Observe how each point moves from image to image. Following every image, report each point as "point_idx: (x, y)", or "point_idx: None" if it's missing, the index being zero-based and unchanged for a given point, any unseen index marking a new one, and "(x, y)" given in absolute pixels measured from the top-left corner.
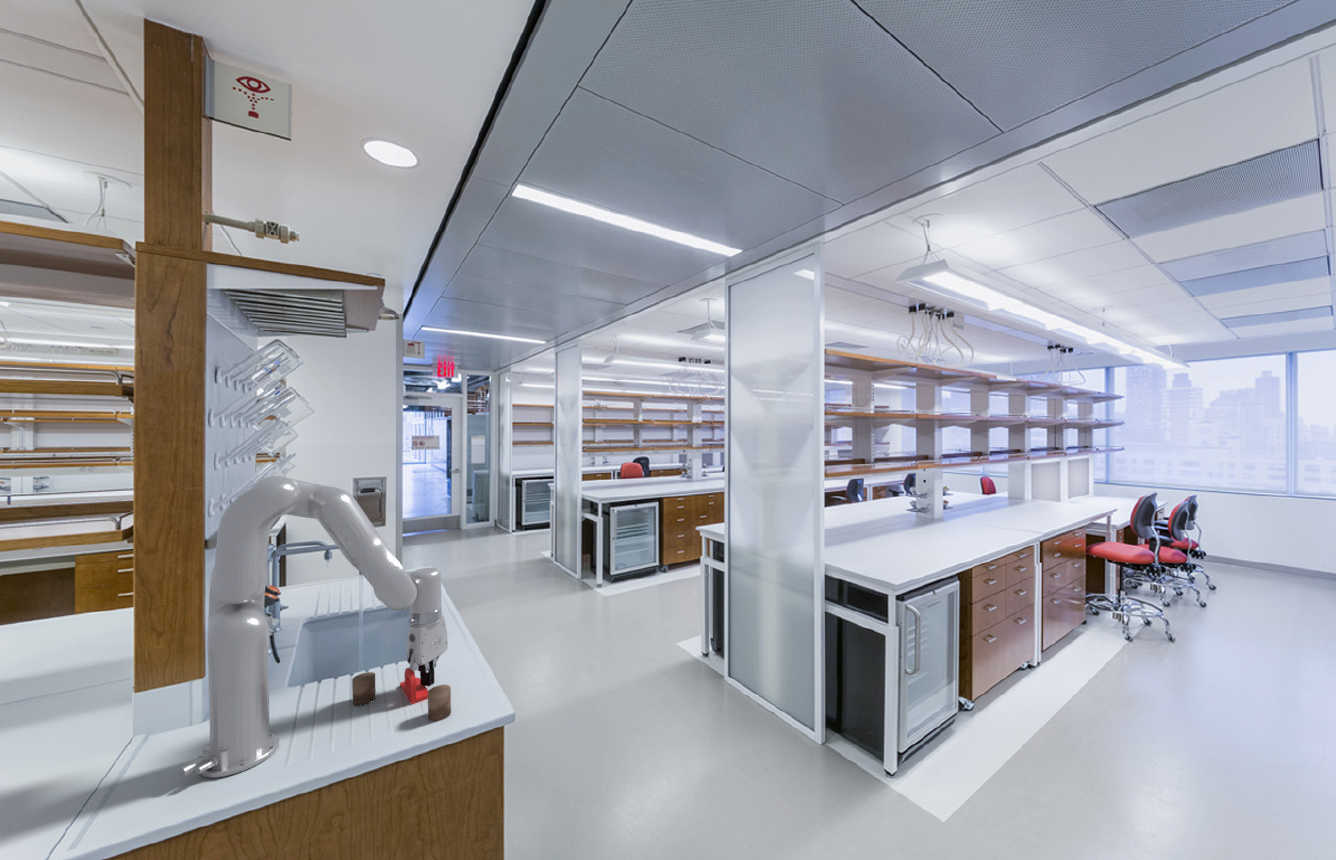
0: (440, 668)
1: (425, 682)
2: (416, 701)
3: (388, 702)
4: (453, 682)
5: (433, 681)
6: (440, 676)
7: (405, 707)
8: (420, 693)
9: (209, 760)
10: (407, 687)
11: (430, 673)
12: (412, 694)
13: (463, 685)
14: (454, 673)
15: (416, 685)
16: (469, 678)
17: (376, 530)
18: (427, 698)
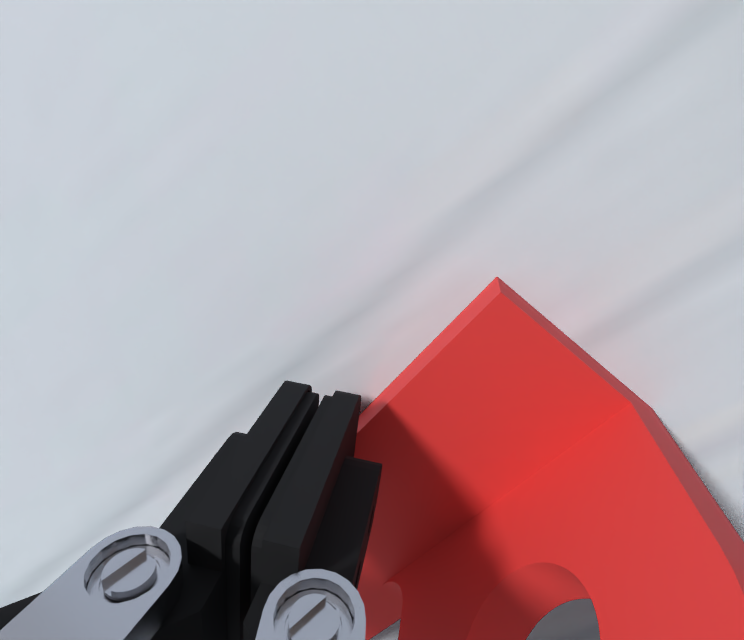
0: (12, 480)
1: (379, 470)
2: (617, 386)
3: (591, 617)
4: (145, 210)
5: (292, 396)
6: (106, 414)
7: (707, 441)
8: (496, 421)
9: None
10: (537, 611)
11: (299, 509)
12: (695, 482)
13: (156, 13)
14: (11, 313)
15: None
16: (4, 52)
17: None
18: (524, 303)
